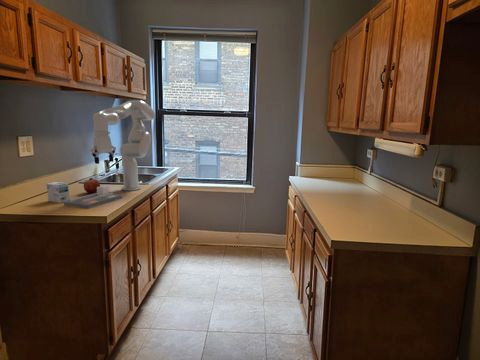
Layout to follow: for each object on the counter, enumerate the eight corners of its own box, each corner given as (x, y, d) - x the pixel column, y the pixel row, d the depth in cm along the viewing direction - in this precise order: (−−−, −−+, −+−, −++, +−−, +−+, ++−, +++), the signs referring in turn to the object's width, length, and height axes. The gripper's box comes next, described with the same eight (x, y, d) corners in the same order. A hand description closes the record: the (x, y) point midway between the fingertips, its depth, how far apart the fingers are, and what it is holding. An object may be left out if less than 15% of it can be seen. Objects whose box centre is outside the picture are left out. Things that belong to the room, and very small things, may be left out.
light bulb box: (70, 200, 191) (68, 182, 189) (60, 203, 185) (58, 184, 183) (58, 198, 195) (56, 181, 193) (47, 201, 189) (45, 183, 187)
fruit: (101, 193, 209) (100, 178, 207) (84, 195, 205) (83, 179, 203) (100, 190, 218) (99, 176, 217) (83, 192, 214) (82, 177, 212)
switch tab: (102, 194, 198) (101, 185, 197) (108, 194, 196) (108, 186, 195) (97, 195, 194) (96, 187, 193) (103, 196, 192) (103, 187, 191)
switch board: (99, 195, 204) (99, 190, 203) (122, 198, 198) (121, 192, 197) (63, 205, 180) (63, 199, 180) (88, 208, 174) (87, 202, 173)
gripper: (110, 133, 201) (112, 160, 204) (84, 134, 187) (87, 163, 190) (118, 133, 197) (120, 161, 200) (92, 135, 183) (95, 165, 186)
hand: (104, 162), depth 195 cm, fingers open, 9 cm apart
